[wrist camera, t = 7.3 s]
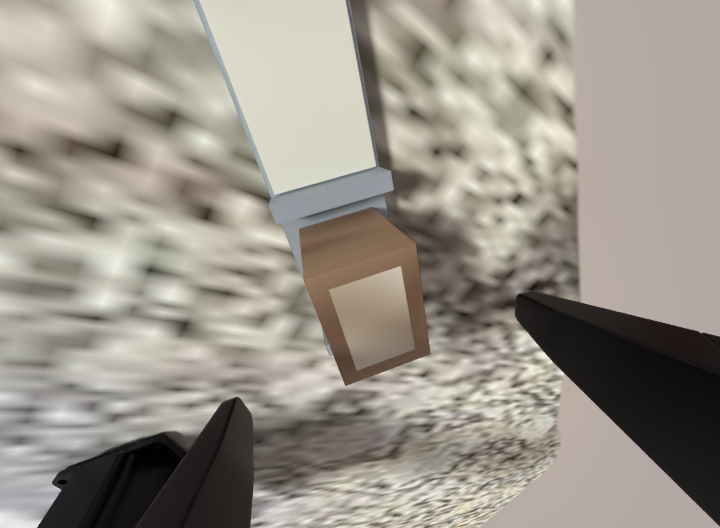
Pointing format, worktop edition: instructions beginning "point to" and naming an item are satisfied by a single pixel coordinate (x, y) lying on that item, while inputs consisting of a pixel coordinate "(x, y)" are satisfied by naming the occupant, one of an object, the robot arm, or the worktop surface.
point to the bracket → (300, 106)
